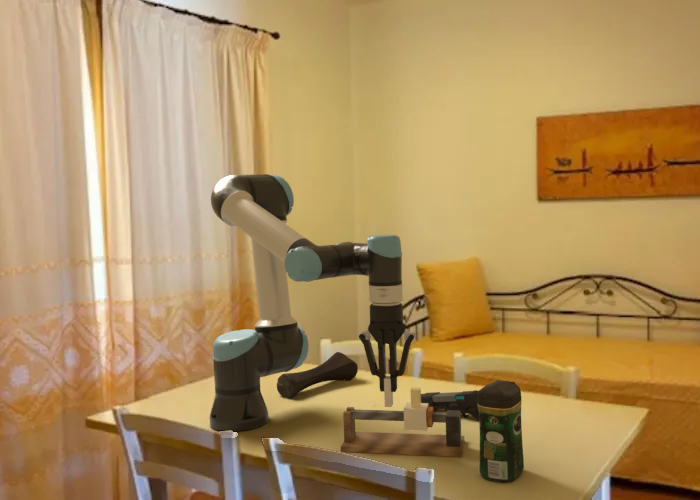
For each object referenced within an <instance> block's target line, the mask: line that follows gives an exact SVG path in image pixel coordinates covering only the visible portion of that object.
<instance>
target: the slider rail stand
mask: <svg viewBox="0 0 700 500" xmlns="http://www.w3.org/2000/svg"><path fill="white" fill-rule="evenodd" d="M345 409H346V411H345V410H344V411H343V413H342V415H343V416H342V417H343V419H342V420H343V439H344V440H343V442H342V443H341V445H340V452H343V451H344V452H345V453H347V452H348V453H367V454H368V453H369V454H386V455H387V454H390V455H407V456H408V455H410V456H430V457H431V456H432V457H450V458H451V457H453V458H454V457H457V458H463V457H462V456H463V451H464V447H465V439H466V438H465V435H462V419H461V417H462V416H461V415H462V414H461V411H457V410H447V411H434V410H433V407H429V408H428V410H427V426H428V428H433V426H434V423H438V424H439V423H441V424H442V423H445V434H428V433H427V434H426V433H425V434H424V433H403V432H402V433H401V432H400V433H399V432H398V433H396V432H379V431H378V432H377V431H376V432H374V431H356V420H360V421H383V422H384V421H385V422H387V421H388V422H404V410H386V409H385V410H384V409H383V410H379V409H355V407H354V406H347V407H346V408H345Z"/></svg>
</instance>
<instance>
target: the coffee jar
mask: <svg viewBox="0 0 700 500" xmlns="http://www.w3.org/2000/svg"><path fill="white" fill-rule="evenodd" d="M477 391H478V393H477V395H478V404H477V405H478V411H479V421H478V422H479V473H480V476H482V477H484V478H485V479H487V480H489V481H491V482H492V481H493V482H497V483H500V482H512V481H514V480H516V479H517V478H519V476H520V475H521V474H522V473H523V471H524V469H525V468H524V466H525V463H524V460H525V459H524V449H523V447H524V446H523V430H522V401H523V400H522V391H521V387H520V386H519V385H518V384H516V382H515V381H510V380H509V381H508V380H499V379H497V380H496V379H495V381H493V382H490V383H488V384H487V385H485V386H483V387H482V388H480V389H479V390H477Z"/></svg>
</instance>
